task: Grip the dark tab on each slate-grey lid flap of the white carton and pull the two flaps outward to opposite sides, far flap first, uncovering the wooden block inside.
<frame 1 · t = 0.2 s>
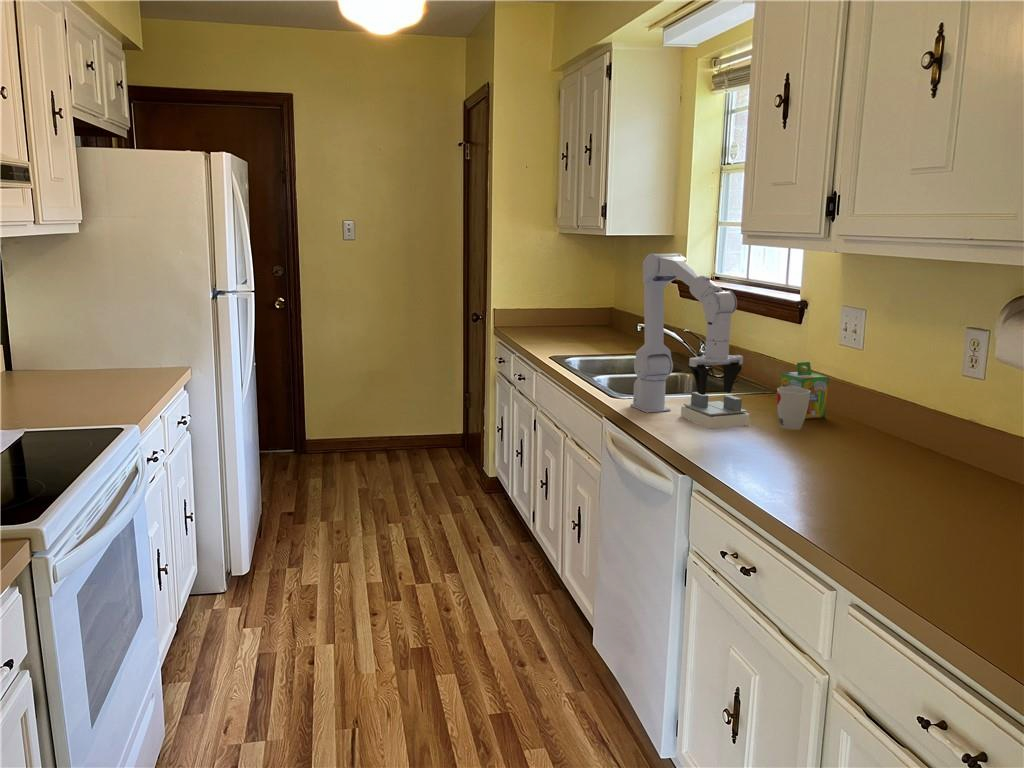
hand: (714, 393, 203), 10 cm above the worktop, tool pointing down, fingers open, 7 cm apart
carton: (714, 420, 216), on the worktop
flap far: (724, 401, 216), point 5 cm above the worktop, slide at 0.0 cm
flap near: (705, 402, 214), point 5 cm above the worktop, slide at 0.0 cm
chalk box: (801, 416, 224), on the worktop
cup: (790, 428, 210), on the worktop
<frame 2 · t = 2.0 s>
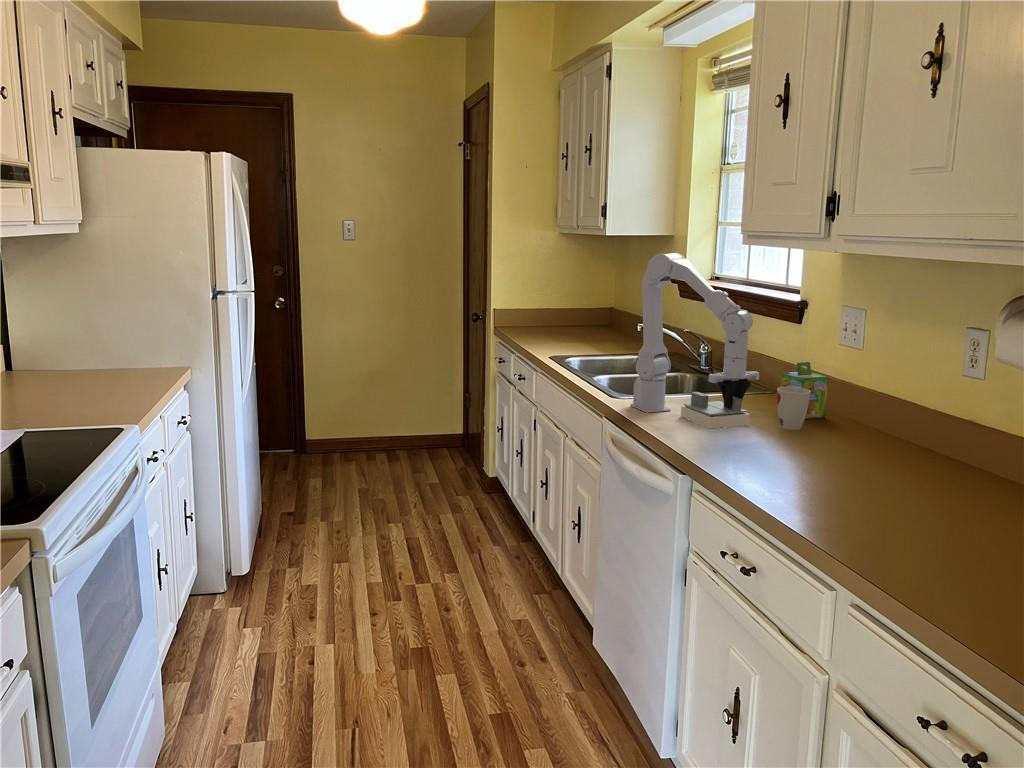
hand: (732, 407, 213), 4 cm above the worktop, tool pointing down, fingers closed on flap far, 2 cm apart
flap far: (724, 401, 216), point 5 cm above the worktop, slide at 0.0 cm, touching gripper
everything else where it was.
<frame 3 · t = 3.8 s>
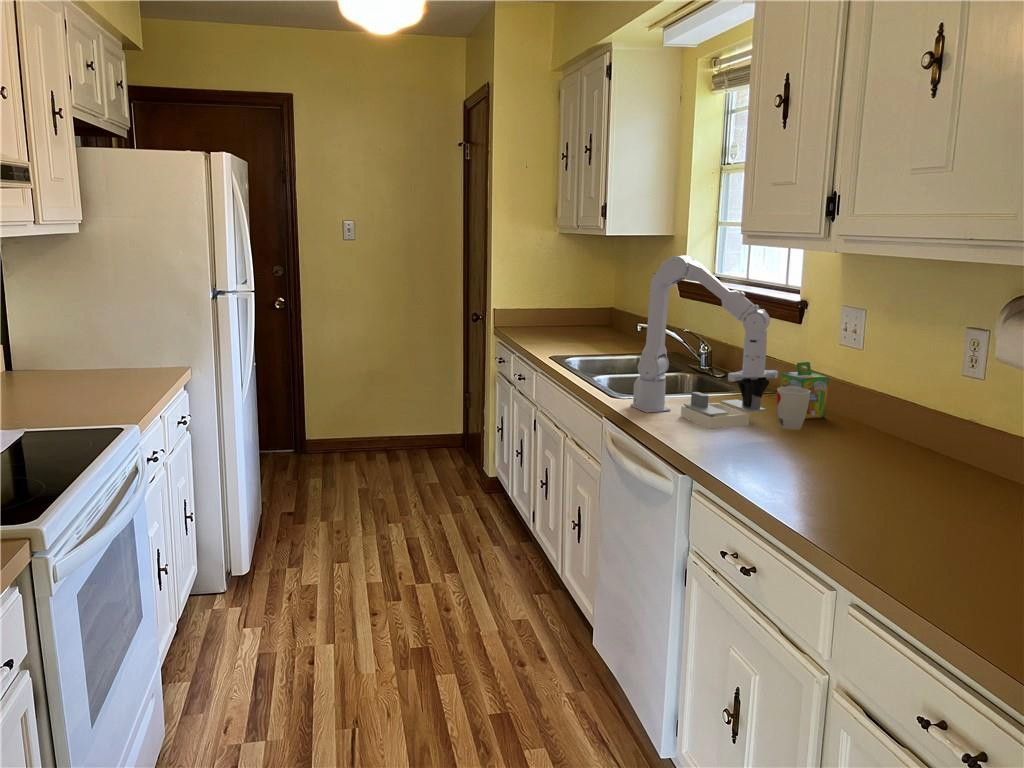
hand: (751, 405, 215), 4 cm above the worktop, tool pointing down, fingers closed on flap far, 2 cm apart
flap far: (743, 399, 218), point 5 cm above the worktop, slide at 6.0 cm, touching gripper
everything else where it was.
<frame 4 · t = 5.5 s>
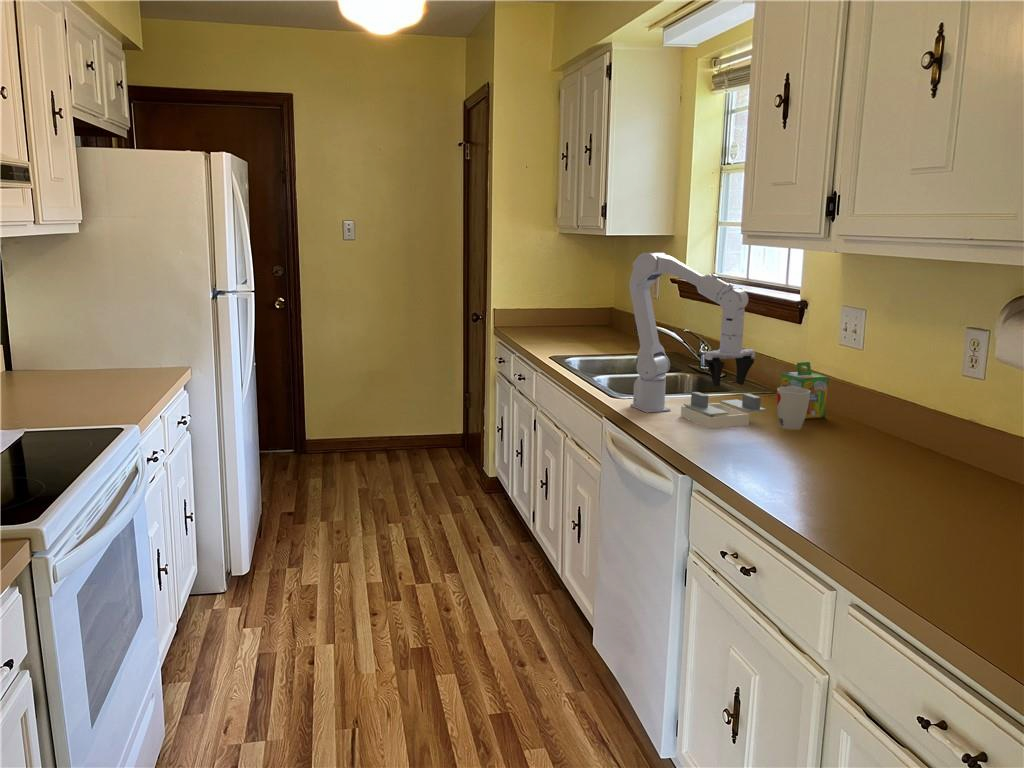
hand: (728, 384, 215), 10 cm above the worktop, tool pointing down, fingers open, 7 cm apart
flap far: (743, 399, 218), point 5 cm above the worktop, slide at 6.0 cm
everything else where it was.
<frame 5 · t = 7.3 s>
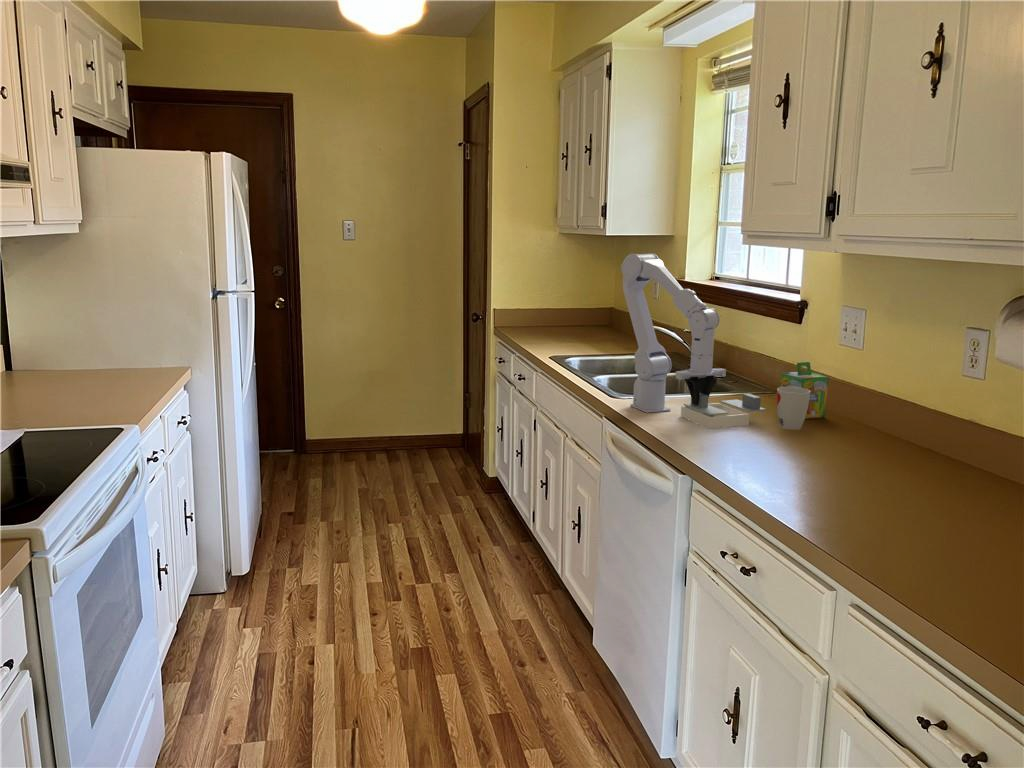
hand: (699, 404, 217), 4 cm above the worktop, tool pointing down, fingers closed on flap near, 2 cm apart
flap near: (705, 402, 214), point 5 cm above the worktop, slide at 0.0 cm, touching gripper
everything else where it was.
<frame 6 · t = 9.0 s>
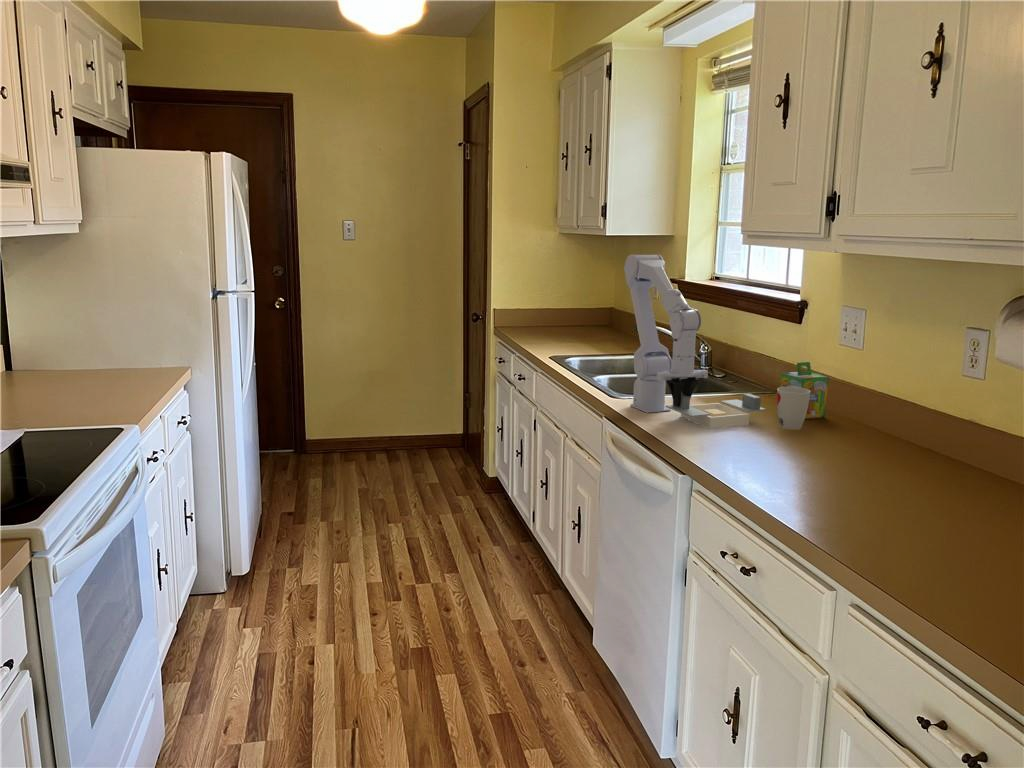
hand: (680, 405, 215), 4 cm above the worktop, tool pointing down, fingers closed on flap near, 2 cm apart
flap near: (687, 404, 212), point 5 cm above the worktop, slide at 5.7 cm, touching gripper
everything else where it was.
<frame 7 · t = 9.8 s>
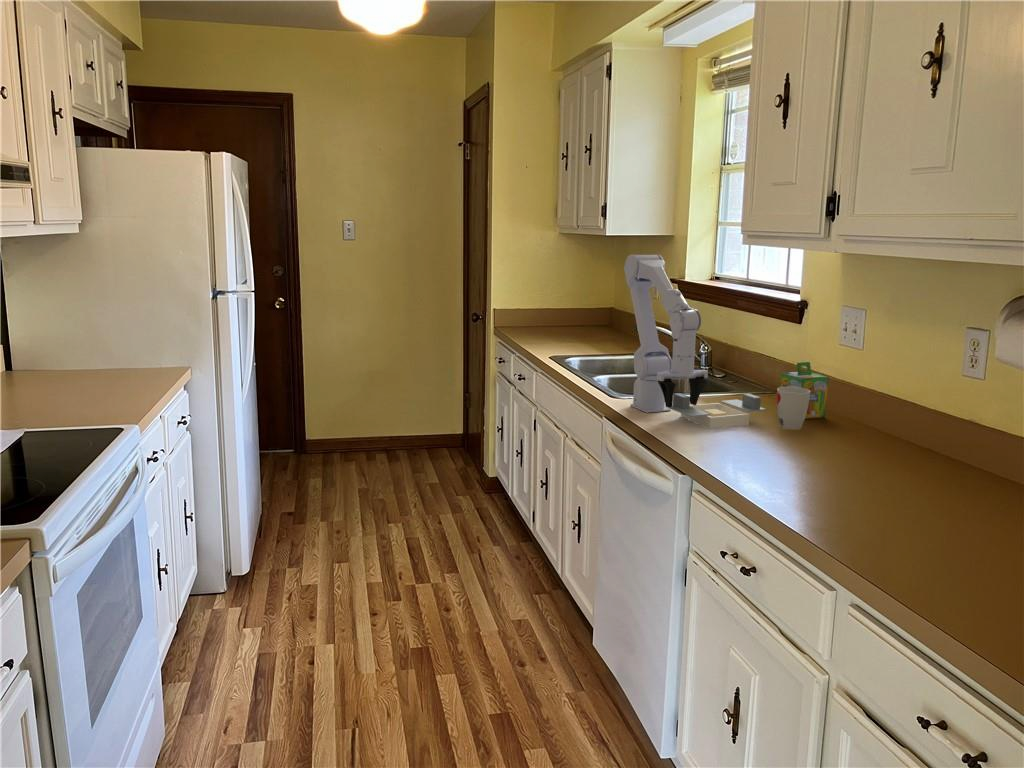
hand: (681, 405, 215), 4 cm above the worktop, tool pointing down, fingers open, 7 cm apart
flap near: (687, 404, 212), point 5 cm above the worktop, slide at 5.7 cm
everything else where it was.
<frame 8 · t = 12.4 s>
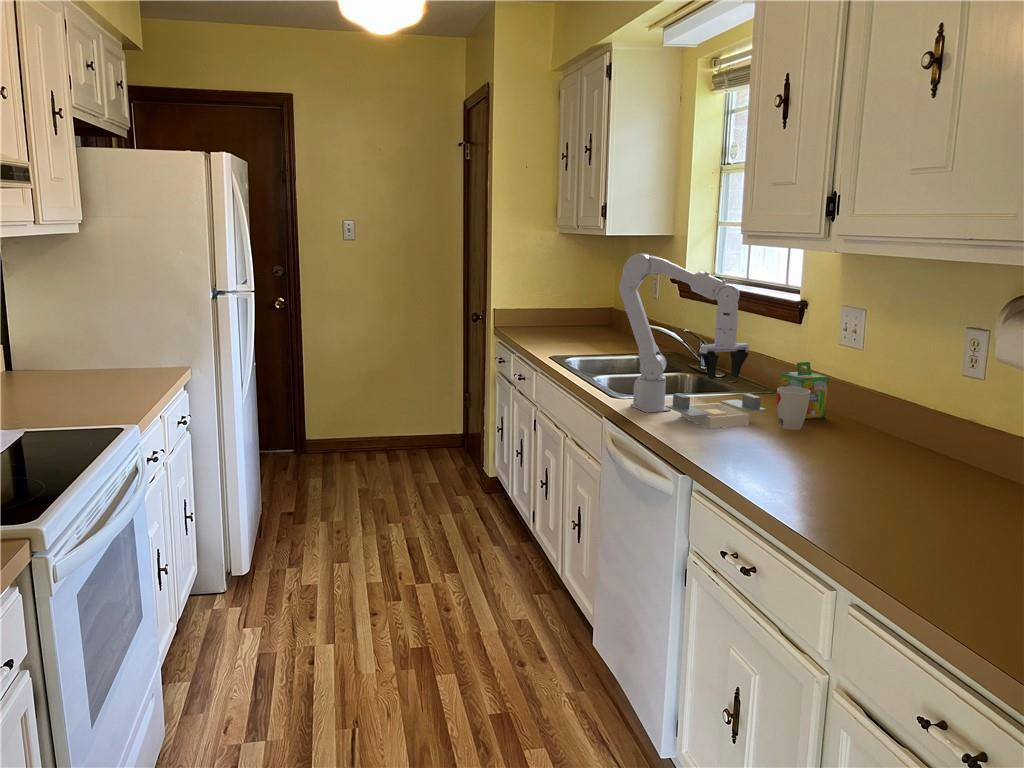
hand: (723, 377, 221), 10 cm above the worktop, tool pointing down, fingers open, 7 cm apart
nothing on the worktop moved.
at the end: flap far slide at 6.0 cm; flap near slide at 5.7 cm; the gripper is holding nothing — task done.
